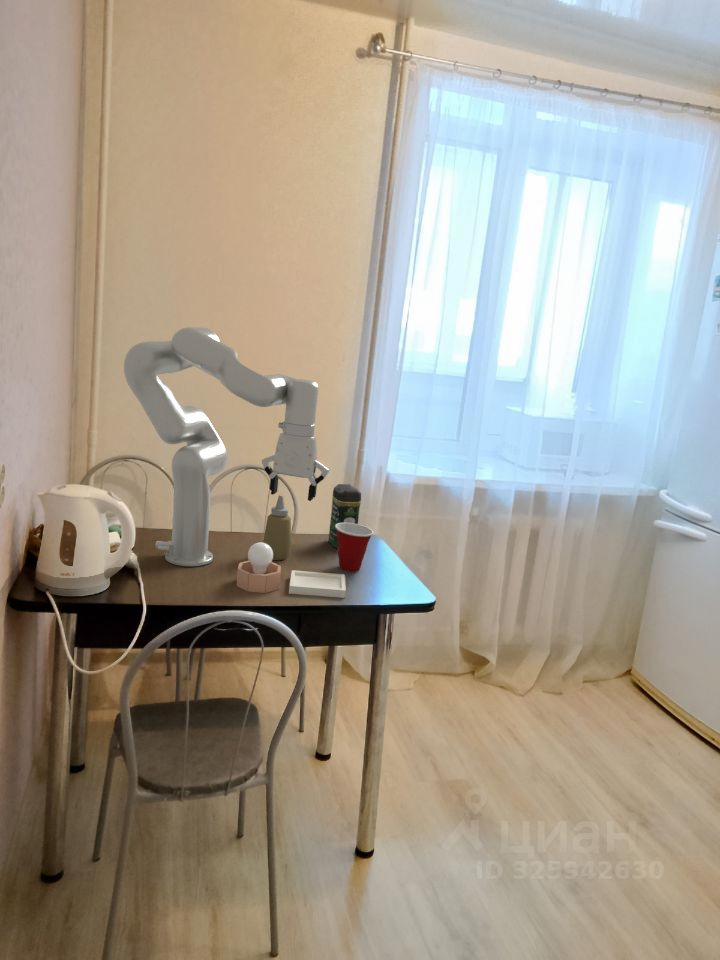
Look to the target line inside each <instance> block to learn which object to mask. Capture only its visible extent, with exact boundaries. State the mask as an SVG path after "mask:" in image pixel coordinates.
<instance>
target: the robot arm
mask: <svg viewBox="0 0 720 960" xmlns="http://www.w3.org/2000/svg"><path fill="white" fill-rule="evenodd" d="M192 367H195V368H197V369H199V370H200V371H202V372H204V373H206V374H208V375H210V376H211V377H214V378H215V379H217V380H218V381H219V382H220V383H221V384H222V386H223V387H224V388H226V389H227V391H229V392H230V393H231V394H233V395H234V396H236V397H238V398H240V399H242V400H244V401H245V402H247V403H250V404H251V405H254V406H256V407H260V408H267V407H268V408H269V407H273V406H281V405H285V412H284V421H283V422H278V428H279V429H282V432H281V433H280V432H279V436H278V439H277V443H276V447H275V453H274V454H273V455H270V456H268V457H265V458H263V459H262V460H261V464H262V466H263V468H264V472H265V473H266V474H267V475H268V478H269V481H270V482H269V490H270V495H273V496H274V495H275V494H276V493H278V487H279V477H278V475H283V476H289V477H296V478H304V479H308V481H309V483H310V485H309V486H308V493H307V501H309V502H311V501H312V500H313V499H314V498H316V496H317V490H318V489H317V487H318V484H319V483H321V482H323V480H325V478H326V477H327V475H328V474H329V472H330V469H329V468H328V467H327V466H325V465H324V464H323V463H321V462H320V461H318V460H317V458H318V457H317V456H318V452H317V451H318V450H317V449H318V448H317V447H318V446H317V437H316V436H314V434H315V425H316V417H317V407H318V399H319V398H318V397H319V385H318V383H317V382H316V381H314V380H309V379H302V378H295V377H291V376H288V375H284V374H279V373H278V374H277V373H275V374H268V375H267V374H266V375H265V374H264V375H263V374H260V373H258V372H256V371H254V370H252V369H250V368H248V367H247V366H246V365H244V364H242V363H241V362H240V361H239V355H238V352H237V350H235V349H234V348H232V347H231V346H229V345H228V344H225V343H223V342H220V338H219V336H218V335H217V334H216V333H215V331H214V330H212V329H210V328H207V327H195V326H194V327H183V328H180V329H178V330H177V331H176V332H175V333H174V335H172V338H171V340H169V341H168V340H167V341H165V340H164V341H162V340H161V341H157V340H155V341H152V340H151V341H141V342H139V343H136V344H134V345H133V346H131V347H130V348H129V350H128V351H127V353H126V355H125V357H124V363H123V374H124V378H125V380H126V383H127V385H128V386H129V388H130V390H131V392H132V393H133V395H134V396H135V397H136V399H137V401H138V402H139V403H140V405H141V407H142V409H143V410H144V412H145V414H146V416H147V417H148V420H149V421H150V423H151V425H152V426H153V428H154V429H155V431H156V433H157V435H158V436H159V438H160V439H161V440H162V441H163V442H164V443H165V444H168V445H179V444H182V443H186V445H184V446H182V447H180V448H179V449H178V450H177V451H176V452H175V453H174V454H173V457H172V459H171V472H172V473H171V474H172V479H173V509H172V510H173V511H172V530H171V531H172V532H171V533H172V534H171V540H168V541H162V540H156V541H155V544H154V545H155V549H157V550H158V551H165V552H166V553H165V557H164V558H165V561H167V562H168V563H170V564H172V565H175V566H176V565H177V566H180V567H200V566H204V565H208V564H210V563H212V561H213V560H214V555H213V552H211V551H210V550H208V549H209V548H208V547H209V535H210V534H209V531H210V512H211V489H210V484H209V481H208V480H209V479H208V477H210V476H213V475H217V474H219V473H220V472H222V471H223V470H224V469H225V468H226V466H227V465H228V461H229V456H228V452H227V449H226V446H225V444H224V442H223V441H222V439H221V438H220V436H219V434H218V432H217V431H216V428H215V427H214V426H213V424H212V422H211V421H210V419H209V417H208V416H207V415H206V413H205V412H204V411H203V410H202V409H200V408H199V407H198V406H197V407H196V406H194V405H193V406H192V405H183V406H182V405H181V404H180V403H179V402H178V400H177V399H176V398H175V395H174V393H173V392H172V390H171V388H169V386H168V385H167V384H166V383H165V382H163V380H161V379H160V377H159V375H164V374H173V373H177V372H181V371H184V370H187V369H190V368H192ZM271 462H273V466H272V467H271V464H270V463H271ZM317 469H318V470H319V471H320V472H321V474H320V475H319V476H316V471H317Z"/></svg>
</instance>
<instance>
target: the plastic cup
mask: <svg viewBox="0 0 720 960" xmlns="http://www.w3.org/2000/svg"><path fill="white" fill-rule="evenodd" d="M335 528H336V531H337V541H338V548H337V556H338V566H339V569H340V570H341V571H344V572H350V573H352V572H353V573H356V572H358V571H360V570H361V567H362V564H363V560H364V557H365V554H366V551H367V548H368V545H369V544H368V543H369V541H370V540H371V537H372V536H373V535H374V530H373V529H372V528H370V527H369V526H365V525H363V524H359V523H358V524H355V523H345V522H344V523H338V524H336V526H335Z"/></svg>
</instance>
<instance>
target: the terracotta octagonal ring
mask: <svg viewBox="0 0 720 960" xmlns="http://www.w3.org/2000/svg"><path fill="white" fill-rule="evenodd" d="M281 574H282V566H281V565H280V564H278V563H276V562H274V561H271V563H270V564H269V565H268V567H267V569H266V572H265V574H254V572H253V567H252V565H251V563H250V562H249V560H246V561H241V562H239V564H238V567H237V571H236V586H237V587H238V588H239V589H242V590H244V591H246V592H250V593H260V594H261V593H264V594H266V593H269V592H273V591H276V590H279V588H280V583H281Z"/></svg>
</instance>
